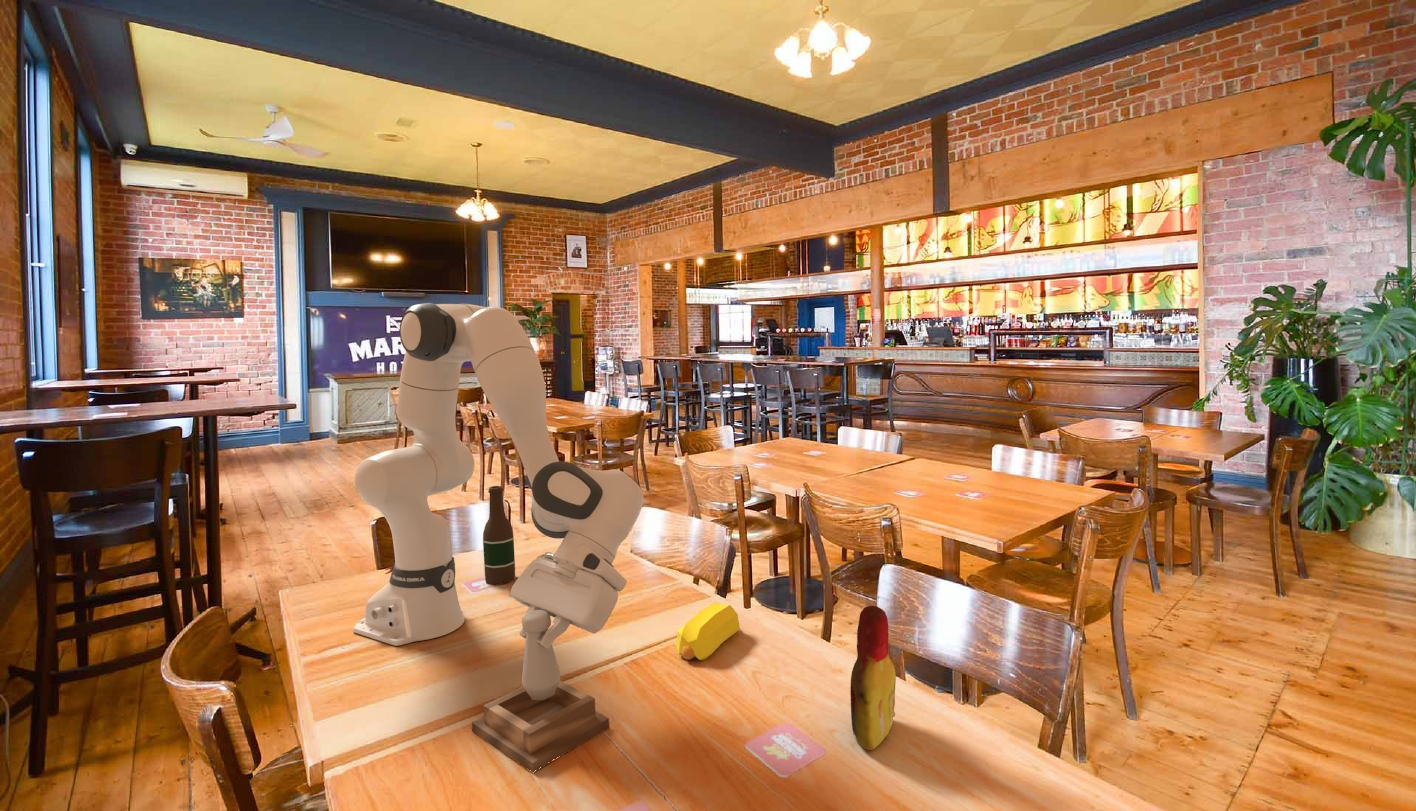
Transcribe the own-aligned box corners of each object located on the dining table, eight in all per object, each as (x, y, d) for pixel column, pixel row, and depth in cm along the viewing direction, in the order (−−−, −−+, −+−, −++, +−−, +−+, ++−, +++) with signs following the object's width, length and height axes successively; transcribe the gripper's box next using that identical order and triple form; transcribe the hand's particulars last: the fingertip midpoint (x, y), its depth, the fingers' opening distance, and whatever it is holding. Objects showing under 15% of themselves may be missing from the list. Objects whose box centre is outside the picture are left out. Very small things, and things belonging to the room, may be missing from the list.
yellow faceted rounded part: (667, 660, 125) (703, 669, 122) (666, 625, 125) (702, 634, 121) (713, 623, 141) (746, 630, 137) (713, 592, 140) (746, 599, 136)
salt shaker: (553, 704, 100) (546, 622, 98) (517, 703, 101) (509, 621, 99) (566, 683, 106) (560, 605, 104) (531, 682, 106) (525, 605, 105)
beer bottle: (493, 573, 173) (488, 483, 171) (521, 574, 172) (516, 483, 170) (478, 584, 166) (473, 490, 163) (508, 585, 165) (503, 490, 162)
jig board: (472, 731, 103) (470, 703, 103) (547, 693, 114) (545, 668, 114) (533, 772, 93) (531, 742, 93) (609, 727, 104) (608, 699, 103)
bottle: (883, 763, 94) (884, 626, 92) (839, 750, 96) (839, 618, 94) (901, 719, 104) (902, 595, 102) (860, 709, 107) (860, 589, 105)
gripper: (531, 540, 113) (482, 615, 106) (611, 564, 100) (561, 652, 93) (554, 559, 117) (508, 632, 110) (634, 584, 103) (588, 669, 97)
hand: (533, 641), depth 102 cm, fingers closed on salt shaker, 3 cm apart
